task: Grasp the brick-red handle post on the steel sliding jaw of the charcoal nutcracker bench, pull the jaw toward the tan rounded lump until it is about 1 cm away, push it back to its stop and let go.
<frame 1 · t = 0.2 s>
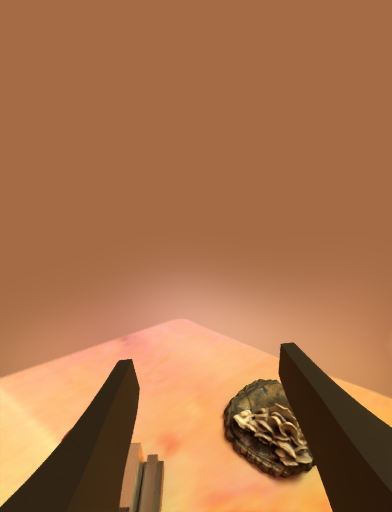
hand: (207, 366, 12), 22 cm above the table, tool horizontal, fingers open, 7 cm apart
log: (271, 426, 30), on the table
sliding jaw: (86, 476, 21), point 6 cm above the table, slide at 0.0 cm
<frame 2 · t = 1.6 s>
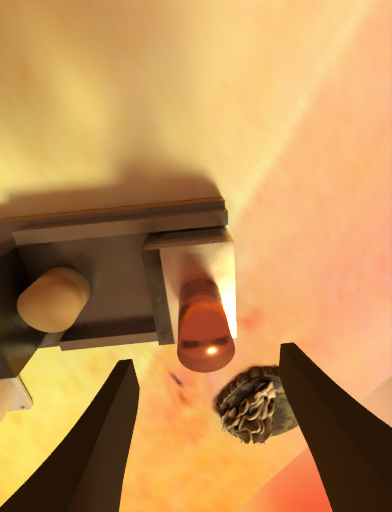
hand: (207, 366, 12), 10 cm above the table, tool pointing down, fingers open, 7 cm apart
log: (260, 397, 30), on the table
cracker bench: (111, 277, 21), on the table
sliding jaw: (193, 306, 16), point 6 cm above the table, slide at 0.0 cm
tan rounded lump: (65, 288, 20), point 1 cm above the table, touching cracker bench
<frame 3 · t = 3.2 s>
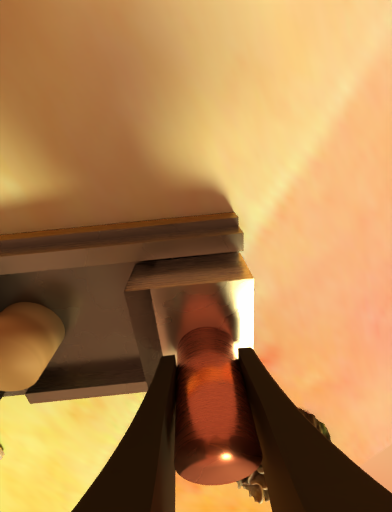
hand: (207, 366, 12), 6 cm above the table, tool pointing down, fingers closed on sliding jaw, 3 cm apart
log: (272, 440, 25), on the table
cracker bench: (92, 310, 17), on the table
sliding jaw: (197, 365, 12), point 5 cm above the table, slide at 0.0 cm, touching gripper
tan rounded lump: (32, 327, 16), point 1 cm above the table, touching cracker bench
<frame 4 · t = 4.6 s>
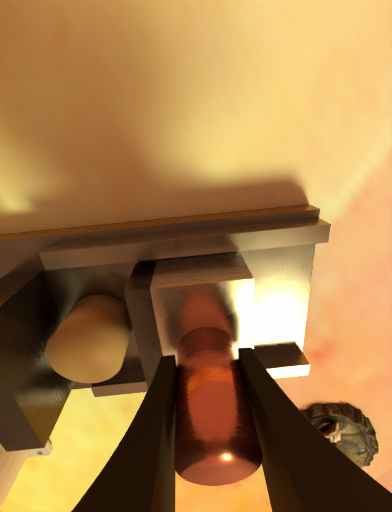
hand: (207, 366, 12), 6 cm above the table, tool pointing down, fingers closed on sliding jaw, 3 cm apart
log: (314, 435, 25), on the table
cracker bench: (157, 304, 17), on the table
sliding jaw: (197, 365, 12), point 5 cm above the table, slide at 4.5 cm, touching gripper
tan rounded lump: (102, 320, 16), point 1 cm above the table, touching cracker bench
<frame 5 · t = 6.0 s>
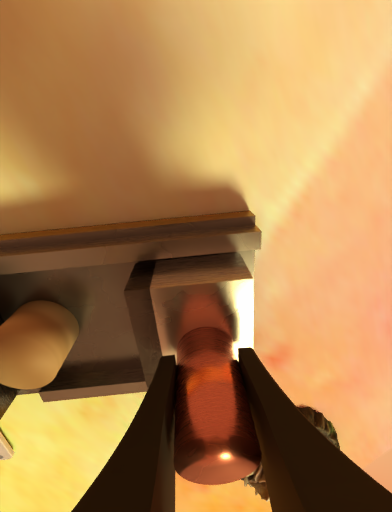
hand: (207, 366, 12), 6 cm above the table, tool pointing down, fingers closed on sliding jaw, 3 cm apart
log: (279, 438, 25), on the table
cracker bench: (106, 309, 17), on the table
sliding jaw: (197, 365, 12), point 6 cm above the table, slide at 0.9 cm, touching gripper
tan rounded lump: (47, 326, 16), point 1 cm above the table, touching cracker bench
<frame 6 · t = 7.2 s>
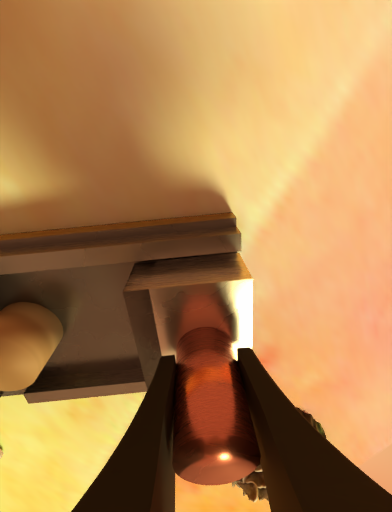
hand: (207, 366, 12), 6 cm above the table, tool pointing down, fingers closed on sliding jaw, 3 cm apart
log: (268, 439, 25), on the table
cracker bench: (91, 310, 17), on the table
sliding jaw: (196, 365, 12), point 5 cm above the table, slide at -0.1 cm, touching gripper
tan rounded lump: (31, 327, 16), point 1 cm above the table, touching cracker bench
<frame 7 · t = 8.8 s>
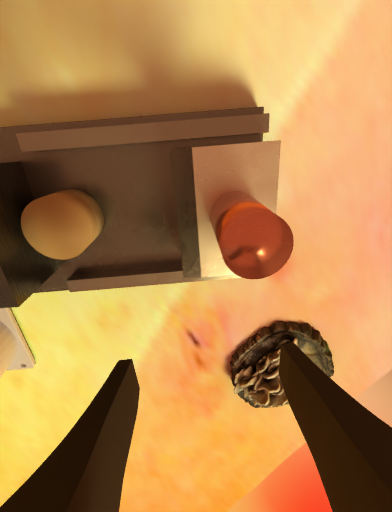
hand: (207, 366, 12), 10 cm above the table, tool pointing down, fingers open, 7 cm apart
log: (277, 360, 27), on the table
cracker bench: (127, 209, 19), on the table
sliding jaw: (229, 221, 14), point 5 cm above the table, slide at 0.0 cm
tan rounded lump: (75, 217, 18), point 1 cm above the table, touching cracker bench
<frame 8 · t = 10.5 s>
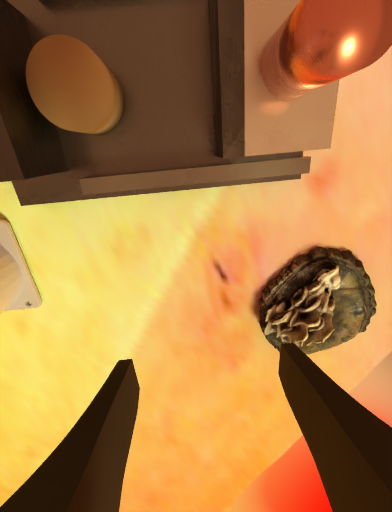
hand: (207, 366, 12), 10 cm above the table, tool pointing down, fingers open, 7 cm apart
log: (310, 300, 24), on the table
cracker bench: (149, 96, 16), on the table
sliding jaw: (289, 57, 11), point 5 cm above the table, slide at 0.0 cm
tan rounded lump: (90, 97, 15), point 1 cm above the table, touching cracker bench
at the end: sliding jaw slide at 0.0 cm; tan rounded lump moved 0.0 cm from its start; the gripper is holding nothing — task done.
